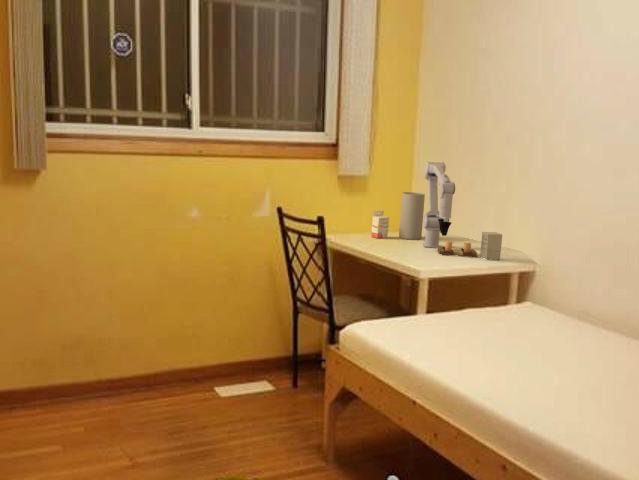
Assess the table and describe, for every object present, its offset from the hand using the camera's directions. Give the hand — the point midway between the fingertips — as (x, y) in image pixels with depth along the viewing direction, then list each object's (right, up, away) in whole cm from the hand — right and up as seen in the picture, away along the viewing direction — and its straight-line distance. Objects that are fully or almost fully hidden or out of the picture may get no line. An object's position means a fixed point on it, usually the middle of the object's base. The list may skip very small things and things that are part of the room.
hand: (443, 234), depth 333 cm
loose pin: (+2, -10, -2) cm, 10 cm away
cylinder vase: (-10, -2, +45) cm, 46 cm away
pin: (+11, -10, -3) cm, 15 cm away
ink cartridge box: (-28, -2, +40) cm, 49 cm away
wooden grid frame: (+7, -10, +1) cm, 12 cm away
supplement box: (+21, -12, -7) cm, 25 cm away
